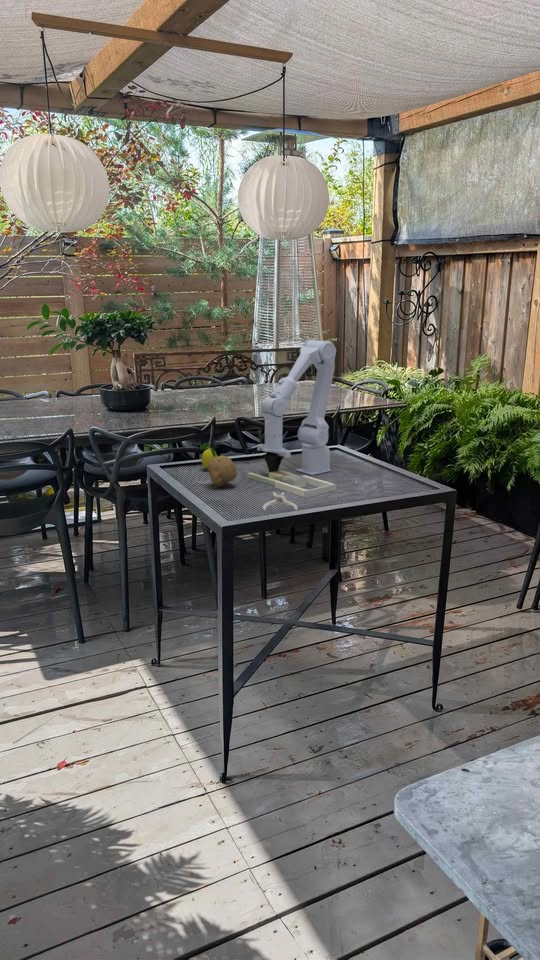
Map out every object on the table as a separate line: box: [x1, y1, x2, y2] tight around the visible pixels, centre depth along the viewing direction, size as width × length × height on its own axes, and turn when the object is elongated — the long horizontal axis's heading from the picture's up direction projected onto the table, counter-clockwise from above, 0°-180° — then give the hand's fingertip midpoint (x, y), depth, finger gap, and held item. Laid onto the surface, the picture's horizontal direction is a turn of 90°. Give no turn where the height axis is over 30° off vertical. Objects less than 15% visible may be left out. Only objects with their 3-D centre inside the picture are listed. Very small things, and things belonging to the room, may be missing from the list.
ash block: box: [268, 469, 293, 482], centre depth 226 cm, size 5×6×3 cm
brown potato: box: [207, 454, 238, 488], centre depth 219 cm, size 9×9×10 cm
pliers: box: [262, 491, 299, 512], centre depth 203 cm, size 10×2×15 cm
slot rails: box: [246, 468, 277, 487], centre depth 229 cm, size 10×15×2 cm, turn 40°
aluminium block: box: [282, 473, 307, 489], centre depth 221 cm, size 5×6×3 cm
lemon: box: [199, 441, 218, 470], centre depth 240 cm, size 7×6×10 cm
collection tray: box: [274, 475, 337, 499], centre depth 218 cm, size 12×14×2 cm
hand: (273, 475), depth 229 cm, fingers closed
